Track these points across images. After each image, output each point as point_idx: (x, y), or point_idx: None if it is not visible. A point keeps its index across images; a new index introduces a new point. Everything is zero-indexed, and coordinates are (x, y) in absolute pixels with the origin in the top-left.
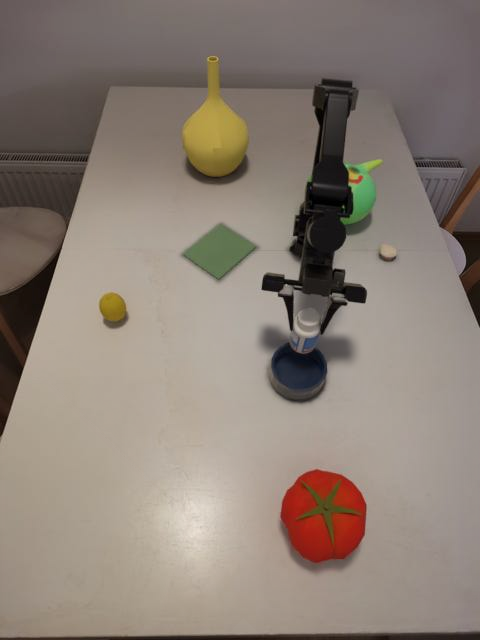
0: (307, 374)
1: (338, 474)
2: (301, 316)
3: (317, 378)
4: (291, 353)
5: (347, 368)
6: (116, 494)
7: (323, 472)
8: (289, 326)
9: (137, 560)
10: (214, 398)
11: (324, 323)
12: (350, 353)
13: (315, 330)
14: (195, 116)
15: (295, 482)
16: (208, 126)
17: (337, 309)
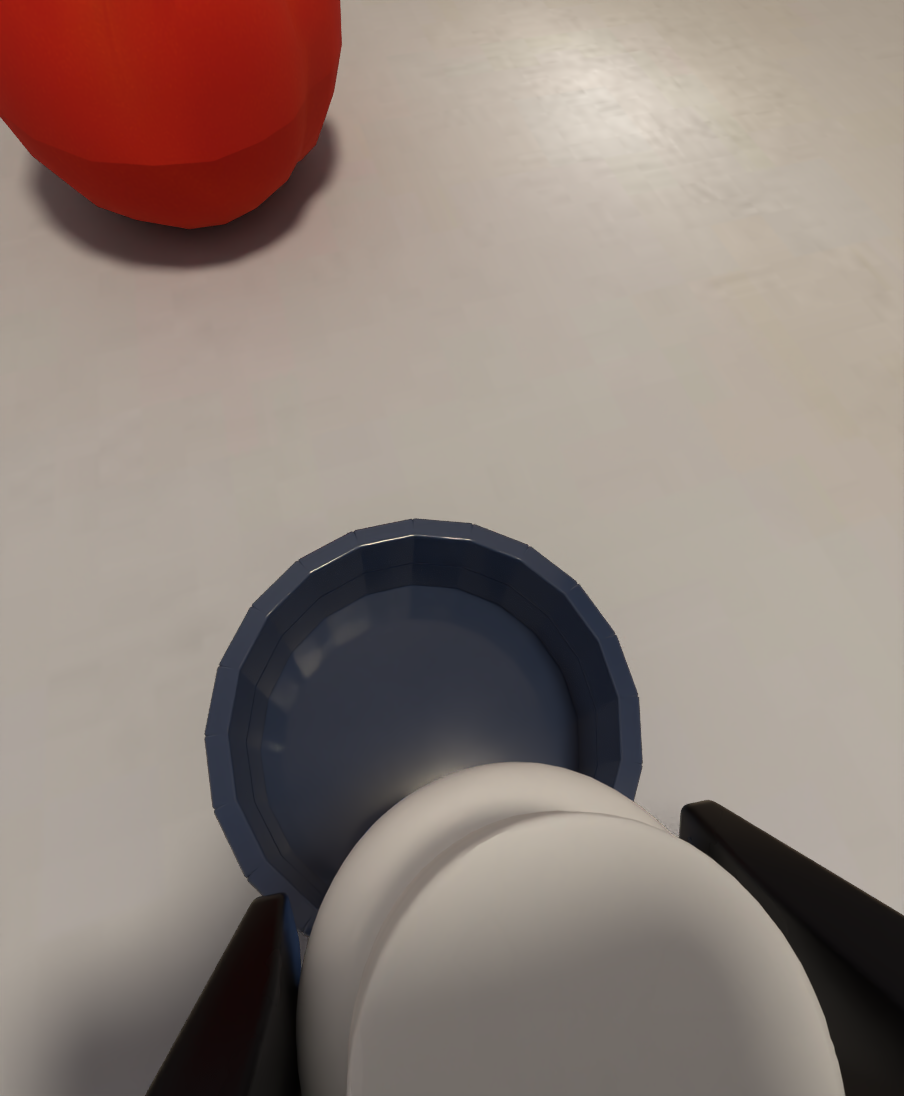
0: (354, 761)
1: (82, 89)
2: (751, 1008)
3: (284, 754)
4: None
5: (73, 925)
6: (867, 114)
7: (158, 39)
8: (762, 830)
9: (702, 13)
10: (778, 468)
11: (225, 1080)
12: (44, 1092)
13: (373, 897)
14: None
15: (298, 45)
16: None
17: None
